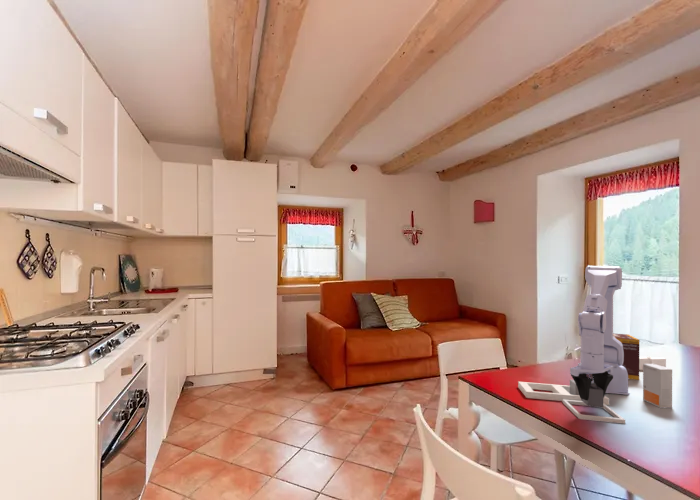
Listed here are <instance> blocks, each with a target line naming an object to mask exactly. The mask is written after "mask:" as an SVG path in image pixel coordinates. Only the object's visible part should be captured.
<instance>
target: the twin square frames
mask: <svg viewBox="0 0 700 500" xmlns="http://www.w3.org/2000/svg"><path fill="white" fill-rule="evenodd" d="M517 383H518V385H517V387H518V389H519V390H520V391H521V393H522V394H523V395H524V396H525V398H527V399H536V400H547V401H559V402H563V399H564V400H575V401H581V398H580V395H571V394H570V385H565V384H563V385H562V384H554V383H553V384H552V383H542V382H541V383H539V382H531V381H530V382H527V381H517ZM535 390H539V391H535ZM540 390H541V391H540ZM545 391H550V392H545ZM603 403H604V404H605V405H607V406H610V398H609V397H608V396H606V395H605V396H604V398H603Z"/></svg>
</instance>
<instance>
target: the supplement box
mask: <svg viewBox="0 0 700 500" xmlns="http://www.w3.org/2000/svg"><path fill="white" fill-rule="evenodd" d="M613 337H615V338H616V339H617V340H619V341H620V342H621V343H622V345H623V351H624V361H623V365H621V366H624V367H625V368H626V370H627V373H628V380H635V381H640V370H639V357H640V339H638V338H636V337H634V336H633V335H630V334H625V333H614V332H613ZM607 346H609V345H607ZM613 347H614V346H613Z"/></svg>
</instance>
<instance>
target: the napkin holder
mask: <svg viewBox="0 0 700 500" xmlns="http://www.w3.org/2000/svg"><path fill="white" fill-rule="evenodd" d="M643 364H656V365H659V366H663V367H666V368H667V359H666V358H665V357H660V356H658V357H657V356H654V357H651V356H647V357H646V356H639V371H643Z"/></svg>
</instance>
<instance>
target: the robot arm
mask: <svg viewBox="0 0 700 500" xmlns="http://www.w3.org/2000/svg"><path fill="white" fill-rule="evenodd" d="M622 269H623V268H622V266H621V267H620V266H619V265H617V266H616V265H615V266H611V265H610V266H609V265H607V266H606V265H589V264H587V266H586V267H585V272H584V277H585V281H586V283H587V285H588V286H589V288H590V294H589V295H586V297H585V299H584V304H583V308H582V312H579V313H578V315H577V316H578V317H577V324H578V334H579V336H580V362H578V363H577V365H575V366H573V367H570V368H569V371H570V372H569V374H570V376H571V377H572V380H574V381H575V383H576V386H577V388H578V392H579V395H580V398H581V399H584V400H588V399H589V390H590V385H591V383H595V384H596V385H597V386H598V387H600V388H601V389H602V390H603V398H604V396H606V394H614V395H615V394H616V395H624V396H625V395H626V396H628V395H629V396H630V393H629V379H628V373H627V370H626V368H625V367H624V366H621V365H623V361H624V351H623V345H622V343H621V342H620V341H619V340H617V339H616V338H615V337H613V333H614V294H615V291H617V290H618V291H619V290H621V289H622V286H623V285H622V284H623V271H622ZM607 345H609V346H607ZM613 346H614V347H613ZM588 375H591V376H592V378H591V377H589V376H588Z"/></svg>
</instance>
